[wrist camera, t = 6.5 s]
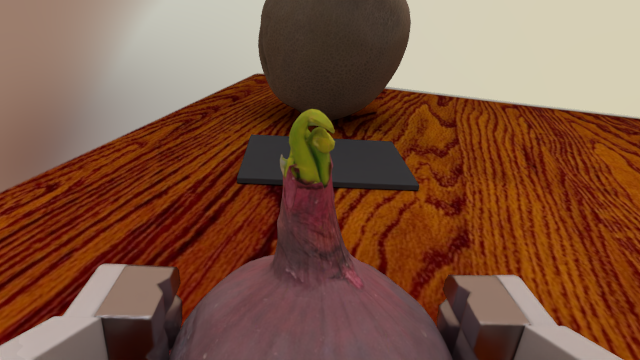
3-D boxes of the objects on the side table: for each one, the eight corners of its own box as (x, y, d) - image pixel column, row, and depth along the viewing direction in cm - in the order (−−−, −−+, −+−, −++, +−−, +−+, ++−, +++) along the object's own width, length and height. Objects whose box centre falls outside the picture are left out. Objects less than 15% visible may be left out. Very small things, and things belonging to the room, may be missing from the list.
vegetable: (186, 401, 13) (157, 66, 9) (379, 378, 14) (431, 75, 10) (154, 705, 7) (39, 191, 3) (473, 624, 9) (668, 179, 5)
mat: (237, 183, 27) (236, 177, 27) (251, 138, 36) (250, 134, 35) (418, 190, 28) (419, 185, 28) (391, 145, 36) (391, 141, 36)
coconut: (373, 148, 35) (398, -55, 29) (230, 120, 40) (227, -60, 34) (408, 112, 47) (432, -37, 41) (295, 94, 52) (302, -43, 46)
